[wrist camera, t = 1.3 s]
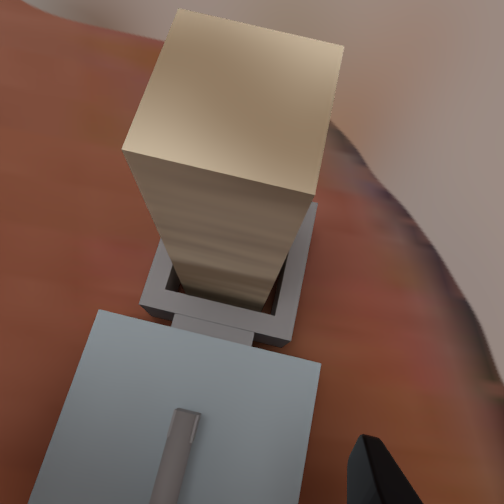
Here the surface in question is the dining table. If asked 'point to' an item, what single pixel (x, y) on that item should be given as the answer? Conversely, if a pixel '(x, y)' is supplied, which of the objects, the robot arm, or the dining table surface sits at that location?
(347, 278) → the dining table surface
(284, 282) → the toolbox
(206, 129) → the wooden block
